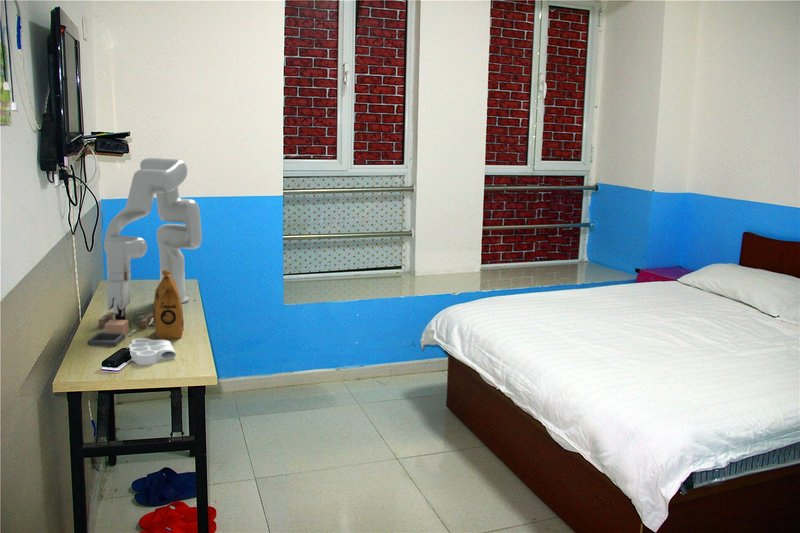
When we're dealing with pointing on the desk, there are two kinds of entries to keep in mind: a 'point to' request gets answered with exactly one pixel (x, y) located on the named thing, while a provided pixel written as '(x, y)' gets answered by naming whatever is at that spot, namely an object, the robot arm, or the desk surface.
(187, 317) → the desk surface
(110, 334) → the grey shallow tray
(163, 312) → the coffee package
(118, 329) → the push block
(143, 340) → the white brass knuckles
